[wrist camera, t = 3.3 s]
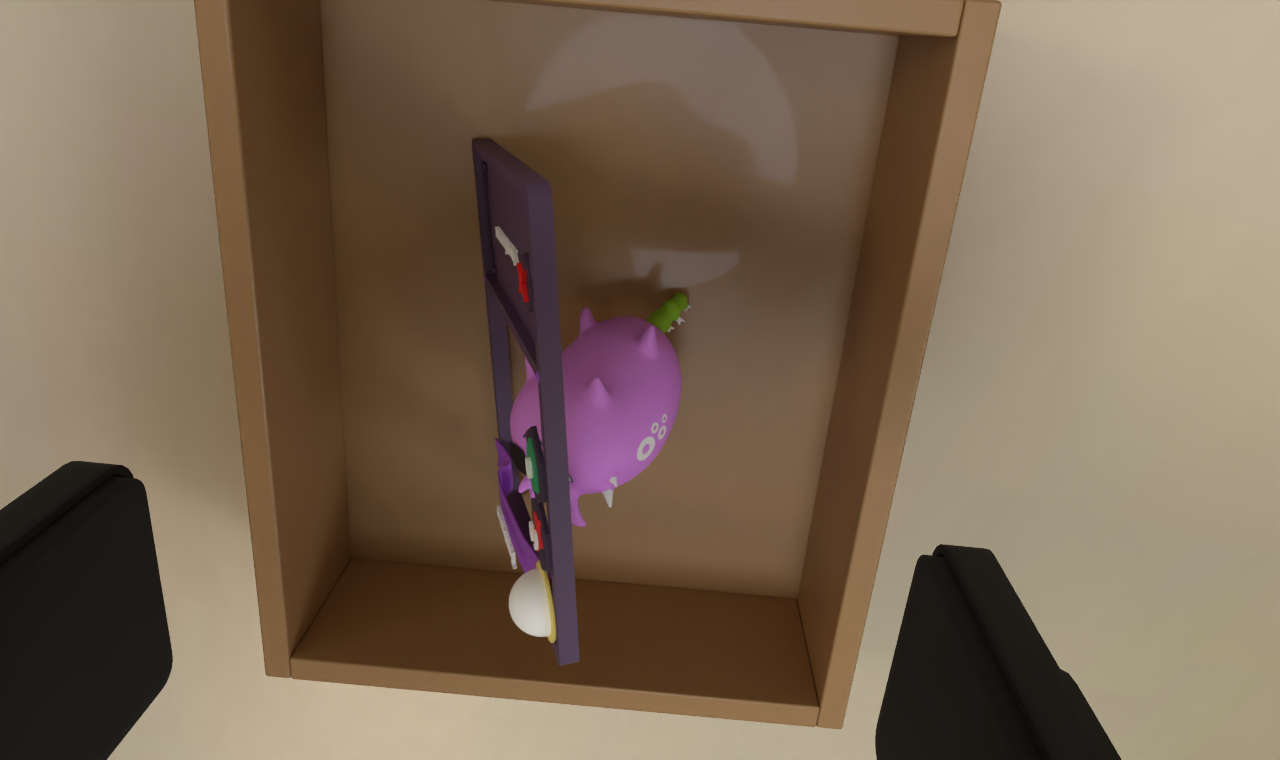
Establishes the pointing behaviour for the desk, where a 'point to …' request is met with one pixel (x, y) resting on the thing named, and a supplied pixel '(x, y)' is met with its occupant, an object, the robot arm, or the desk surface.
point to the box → (587, 278)
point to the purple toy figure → (561, 394)
